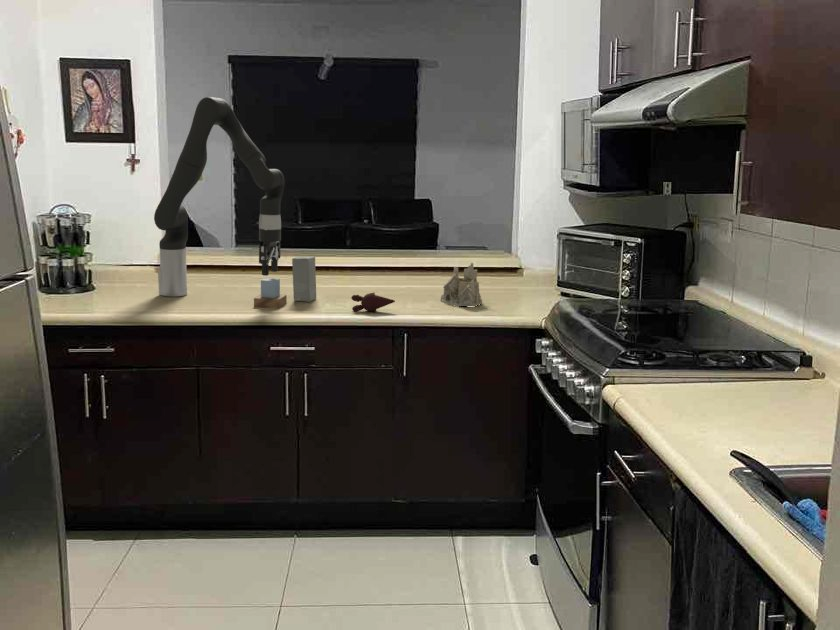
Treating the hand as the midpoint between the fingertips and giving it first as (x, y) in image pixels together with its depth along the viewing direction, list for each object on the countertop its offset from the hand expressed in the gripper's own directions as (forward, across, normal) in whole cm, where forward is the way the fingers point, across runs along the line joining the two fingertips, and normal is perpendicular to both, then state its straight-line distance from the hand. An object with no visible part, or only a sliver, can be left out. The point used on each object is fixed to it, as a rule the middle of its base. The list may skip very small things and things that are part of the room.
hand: (269, 273), depth 305 cm
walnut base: (+12, 0, 0) cm, 12 cm away
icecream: (+11, -1, +37) cm, 39 cm away
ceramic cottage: (+11, -27, +64) cm, 70 cm away
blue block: (+8, 0, 0) cm, 8 cm away
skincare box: (+11, -13, +8) cm, 19 cm away
